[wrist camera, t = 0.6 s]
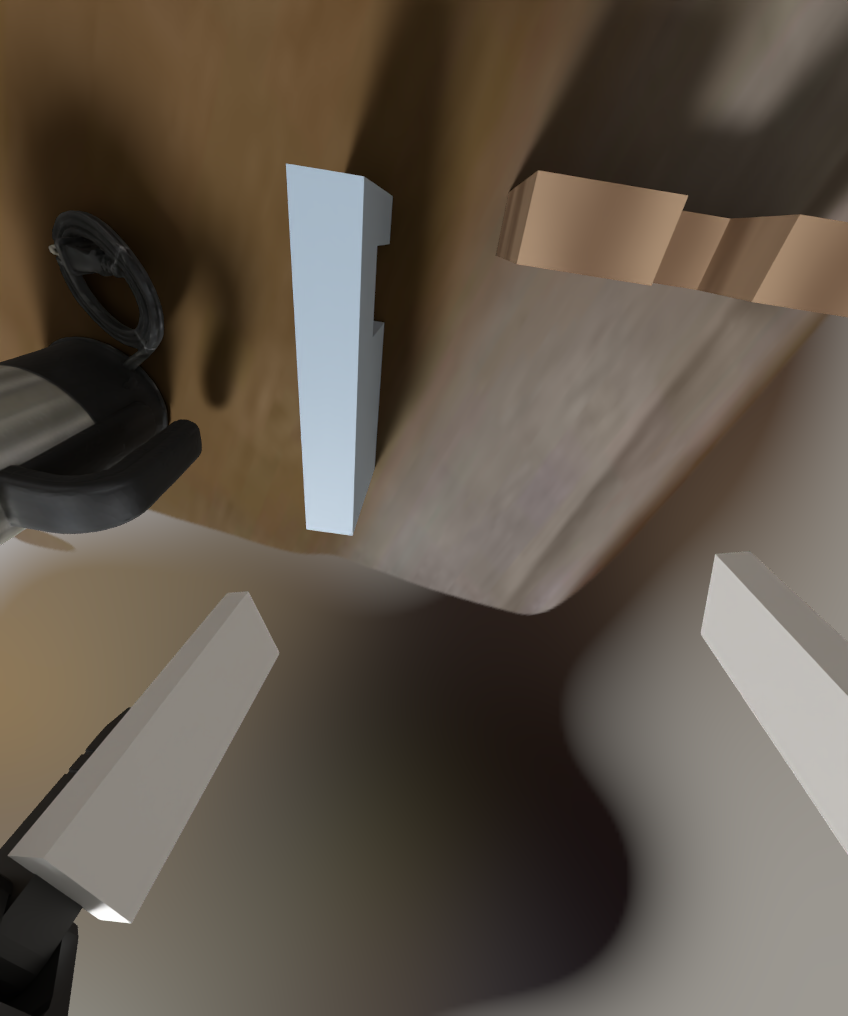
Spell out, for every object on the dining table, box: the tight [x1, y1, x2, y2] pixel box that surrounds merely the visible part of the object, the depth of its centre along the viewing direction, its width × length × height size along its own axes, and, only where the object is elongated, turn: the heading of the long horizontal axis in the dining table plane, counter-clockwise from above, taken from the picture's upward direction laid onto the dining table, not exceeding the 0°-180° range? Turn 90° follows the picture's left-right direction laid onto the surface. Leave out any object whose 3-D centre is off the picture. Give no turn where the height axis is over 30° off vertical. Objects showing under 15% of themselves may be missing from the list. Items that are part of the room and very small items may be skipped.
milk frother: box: [0, 210, 202, 545], centre depth 22 cm, size 14×16×15 cm
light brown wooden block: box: [496, 170, 848, 317], centre depth 19 cm, size 16×3×9 cm, turn 83°
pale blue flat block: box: [286, 164, 393, 536], centre depth 24 cm, size 18×3×9 cm, turn 173°
